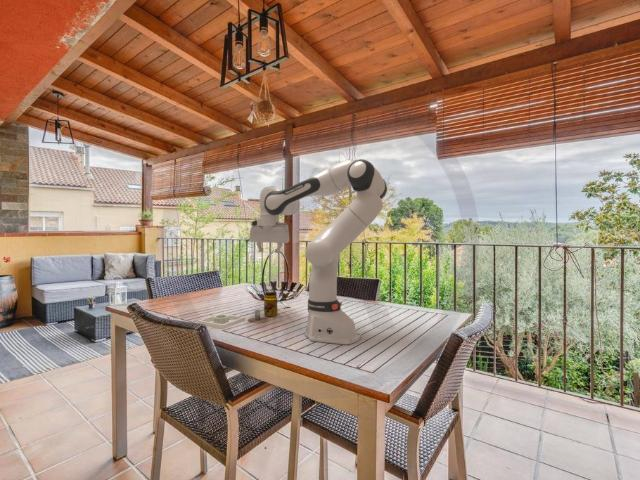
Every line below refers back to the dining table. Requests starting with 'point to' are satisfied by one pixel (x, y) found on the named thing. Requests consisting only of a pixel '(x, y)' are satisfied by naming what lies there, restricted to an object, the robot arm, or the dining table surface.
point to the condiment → (270, 304)
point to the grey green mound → (257, 318)
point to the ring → (221, 319)
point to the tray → (221, 326)
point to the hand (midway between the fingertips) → (269, 252)
